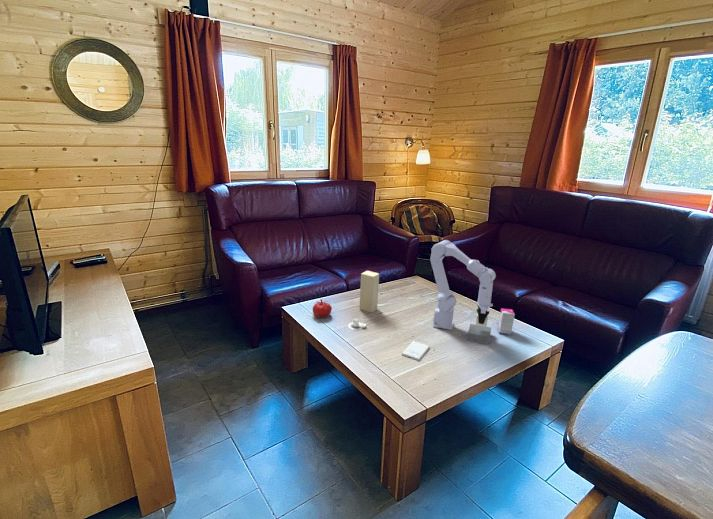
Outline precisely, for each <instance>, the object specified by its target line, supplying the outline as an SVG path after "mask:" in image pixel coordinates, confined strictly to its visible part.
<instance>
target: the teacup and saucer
mask: <svg viewBox="0 0 713 519" xmlns="http://www.w3.org/2000/svg"><path fill="white" fill-rule="evenodd" d="M351 325H352V326H353V327H354V328H352V327H351ZM347 326H348V328H349V329H351V330H353V331H358V330H362V329H364V328H366V327H367V324H366V323H363V322H360V318H357V317H356V318H355V317H354V318H352V319H351V320H350V323H348V325H347ZM358 327H359V328H358Z"/></svg>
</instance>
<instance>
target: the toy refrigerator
mask: <svg viewBox="0 0 713 519" xmlns="http://www.w3.org/2000/svg"><path fill="white" fill-rule="evenodd" d="M379 284H380V273H378V272H374V271H372V270H371V271H370V270H365V271H364V272H362V273H360V289H359V290H360V292H359V310H361V311H365V312H367V313H374V312H375V311H376V310H377V309H378V302H379V301H378V300H379Z"/></svg>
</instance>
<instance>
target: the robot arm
mask: <svg viewBox="0 0 713 519" xmlns="http://www.w3.org/2000/svg"><path fill="white" fill-rule="evenodd" d="M430 249H431V254H430V258H429V259H430V260H429V261H430V264H431V268H432V271H433V275H434V276H433V277H434V280H435V283H436V287H437V291H438V295H437V307H435V308H434V316H433V320H432V321H433V323H432V325H433V327H434V328H437V329H438V328H439V329H445V330H449V331H452V330H453V328H454V321H453V319H454V311H455V309H454V307H455V306H456V305H457V298H456V296H455V295H454V293H453V292H452V290H450V287H449V283H448V279H447V275H446V271H445V268H444V263H443V259H444V258H445V257H453V258H456V260H458V261H459V262H461V263H463V264H464V265H465V266H466V270H468V271H469V272H470V273H472V274H473V275H474V276H475V277H477V278H478V281H479V288H478V289H479V290H478V296H477V297H478V298H477V302H476V306H477V308H476V314H477V313H478V318H479V324H484V322H485V319H486V317H487V315H488V316H489V315H490V311H489V308H490V307H491V308H492V307H493V306H494V305H493V303H491V302H492V293H493V286H494V280H495V279H496V277H497V275H496V272H495V271H494V269H492V268H488V267H487V266H486V267H485V265H484V264H482V263H480V261H479V260H478V259H471V258H470V257H468V255H466V254H465V253H464V252H463V251H462V250H460V249H459V248H458V247H457V246H456V245H455V244H454V243H453V242H451V241H450V240H448V239H444V240H442V241H440V242H438V243H435V244H433V246H432V248H430Z"/></svg>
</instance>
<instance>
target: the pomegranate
mask: <svg viewBox="0 0 713 519" xmlns="http://www.w3.org/2000/svg"><path fill="white" fill-rule="evenodd" d="M332 309H333V307H332V305H331V304H330V303H328V302H327V300H325V301H323V299H321V298H320V301H316V303H315V304H314V305H313V306H312V314H313V316H314V317H316V318H320V319H322V318H324V319H325V318H327V317H329V316H330V315H331V313H332V311H333V310H332Z"/></svg>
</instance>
